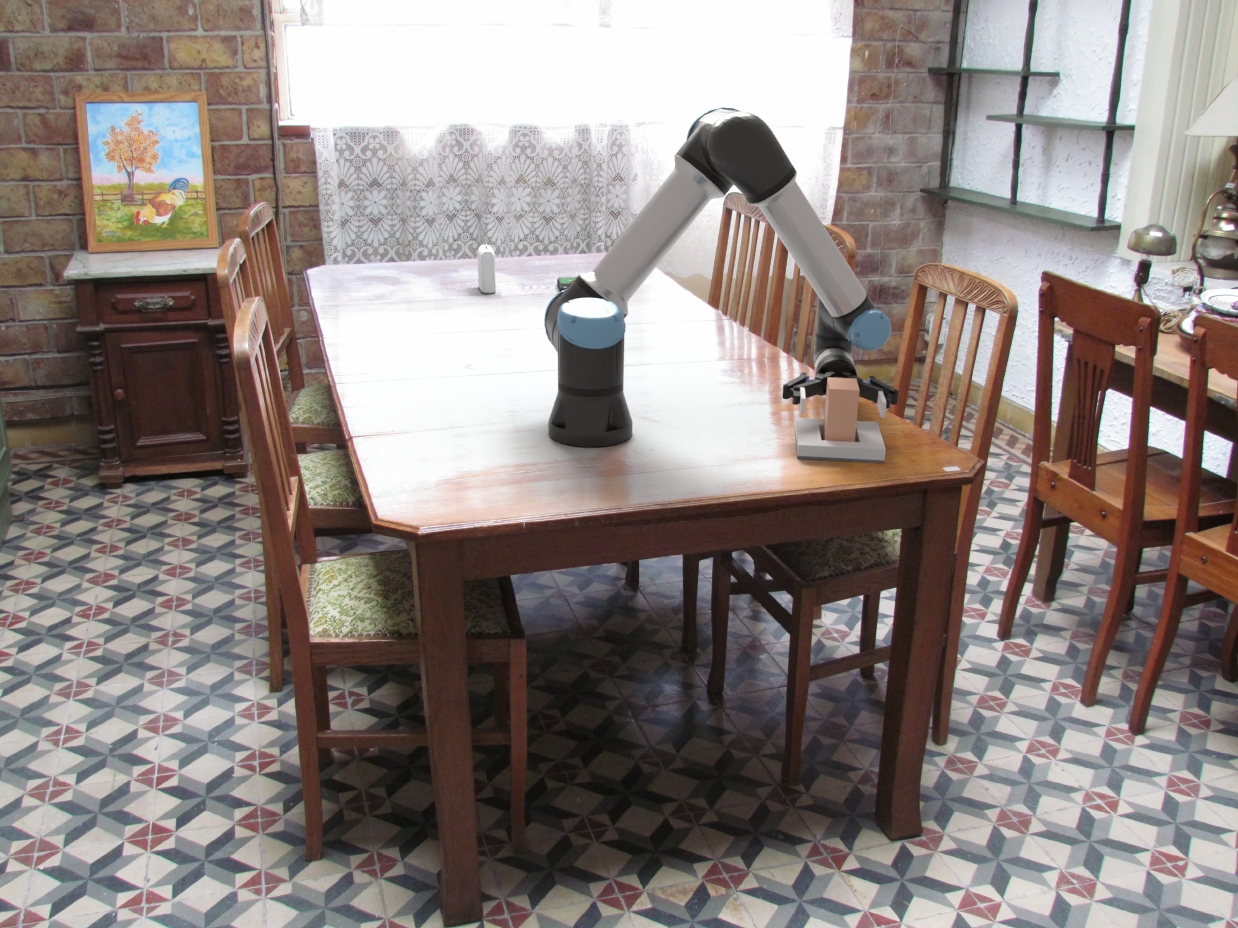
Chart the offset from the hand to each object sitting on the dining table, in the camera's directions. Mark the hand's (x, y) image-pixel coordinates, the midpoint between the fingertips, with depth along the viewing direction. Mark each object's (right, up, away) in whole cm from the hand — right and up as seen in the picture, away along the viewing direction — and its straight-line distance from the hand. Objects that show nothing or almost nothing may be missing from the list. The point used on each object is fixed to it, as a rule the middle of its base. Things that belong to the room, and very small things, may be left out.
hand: (843, 408), depth 195 cm
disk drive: (-50, +38, +123) cm, 139 cm away
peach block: (0, -6, +5) cm, 8 cm away
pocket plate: (0, -7, +5) cm, 9 cm away
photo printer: (-75, +39, +121) cm, 148 cm away
